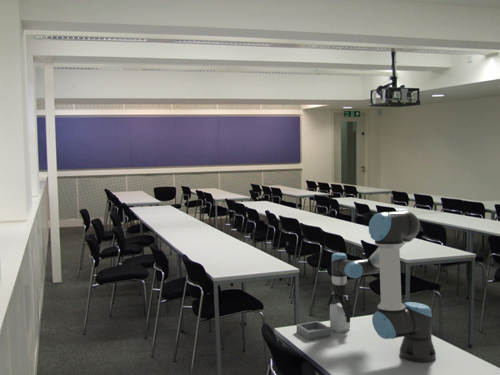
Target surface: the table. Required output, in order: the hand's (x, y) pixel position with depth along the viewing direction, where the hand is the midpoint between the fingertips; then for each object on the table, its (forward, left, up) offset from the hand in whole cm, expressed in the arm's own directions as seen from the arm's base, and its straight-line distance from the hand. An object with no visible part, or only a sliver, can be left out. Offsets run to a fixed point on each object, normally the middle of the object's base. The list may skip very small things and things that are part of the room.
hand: (339, 324), depth 253 cm
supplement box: (0, 0, -3) cm, 3 cm away
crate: (-7, +14, -3) cm, 16 cm away
